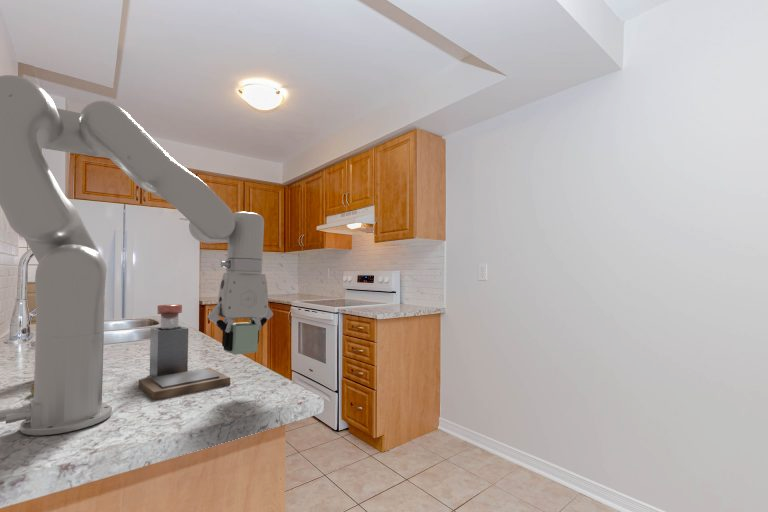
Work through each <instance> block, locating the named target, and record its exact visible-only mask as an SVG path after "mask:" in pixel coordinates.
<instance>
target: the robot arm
mask: <svg viewBox="0 0 768 512" xmlns="http://www.w3.org/2000/svg"><path fill="white" fill-rule="evenodd" d="M41 149H45V150H50V151H59V152H65V153H71V154H78V155H85V156H91V157H97V158H99V157H101V158H108V159H109V160H110V161H112V162H113V164H115V166H117V167H118V168H119V169H120V170H121V171H122V172H123V173H124V174H125V175H126V176H127V177H129V178H130V180H132V182H134V183H135V184H136V185H137V186H138V187H139V188H140V189H142V190H143V191H145V192H148V193H149V194H152V195H155V196H156V197H159V198H161V199H163V200H164V201H166V202H167V203H168V204H170V205H171V206H172V207H174V208H175V209H176V210H177V211H178V212H179V213H180V214H181V215H183V216H184V217H185V218H186V219H187V220H188V221H189V224H188V228H189V233H190V235H191V236H192V237H193V238H194V239H195V240H196V241H198V242H201V243H204V244H221V243H222V244H223V243H227V252H226V253H227V255H226V256H227V257H226V260H221V262H220V268H224V269H225V271H226V272H223V275H222V278H221V281H220V284H219V285H220V286H219V291H218V297H217V304H216V305H215V306H214V308H213V309H212V310H211V311H210V313H208V315H207V319H208V320H210V321H211V322H212V323H214V324H215V325H216V326H217V327H218V329H220V331H222V338H221V339H222V341H221V342H222V343H221V344H222V345H221V346H222V347H223V351H224V350H227V351H232V345H233V332H231V329H232V326H233V323H235V320H236V319H239V320H240V319H249V323H252V324H257V325H258V343H259V342H260V341H259V340H260V339H259V338H260V331H261V330H262V328H263V326H264V325H265V324H266V323H267V322H268V321H269V320H270V319H271V318H272V317H273V316H274V312H273V310H272V309H271V308H270V307H269V296H268V295H269V292H268V283H267V276H266V274H265V273H262V272H263V255H264V253H263V252H264V235H265V233H264V231H265V219H264V217H263V215H261V214H258V213H256V212H251V211H250V212H247V211H235V212H233V211H232V209H231V208H230V207H229V206H228V204H226V203H225V202H224V200H223V199H221V198H220V196H219V195H218V194H217V193H216V192H215V191H214V190H213V189H211V188H210V186H208V185H207V184H206V183H205V182H204V181H203V180H202V179H200V178H199V177H198V176H196V175H195V174H194V173H192V172H191V171H189V170H188V169H187V168H186V167H184V166H183V165H181V164H180V163H179V162H177V161H176V160H175V159H174V158H173V157H172V156H171V155H169V153H168V152H166V150H165V149H163V147H161V146H160V144H159V143H157V142H156V141H155V140H154V139H153V137H152V136H150V134H148V133H147V132H146V131H145V129H144V128H143V127H142V126H141V125H140V124H139V123H137V121H135V119H133V117H132V116H131V115H130V114H129V113H128V112H127V111H125V110H124V109H123V108H122V107H120V106H119V105H117V104H115V103H113V102H110V101H108V100H107V101H106V100H96V101H92V102H90V103H89V104H86V105H85V106H84V107H83V109H82V110H80V112H76V111H72V110H67V109H61V108H57V107H56V105H55V103H54V100H53V98H52V97H51V96H50V95H49V94H48V93H47V92H46V90H45V89H43V88H42V87H41V86H40V85H38V84H37V83H36V82H34V81H32V80H30V79H28V78H25V77H23V76H19V75H11V74H4V75H0V207H1V209H2V211H3V213H4V216H5V217H6V220H7V222H8V224H9V227H10V228H11V229H12V230H13V231H14V233H16V234H17V235H19V236H20V237H22V238H23V239H24V241H25V243H26V244H27V245H28V247H29V249H30V251H31V252H32V254H33V256H34V257H35V259H36V261H37V262H38V263H37V267H36V269H35V277H34V288H35V290H34V291H35V292H34V293H35V309H36V310H35V347H34V348H35V350H34V375H33V376H34V377H33V383H34V384H33V386H34V395H33V397H32V398H30V401H29V403H23V404H22V406H19V407H14V408H5V409H0V423H3V422H4V423H5V424H11V423H16V422H19V421H22V422H21V423H20V425H19V426H20V427H19V431H20V433H22V434H24V435H27V436H50V435H58V434H64V433H70V432H74V431H78V430H82V429H86V428H89V427H92V426H94V425H97V424H99V423H101V422H103V421H105V420H107V419H108V418H110V416H111V415H112V414H113V407H112V406H111V405H109V404H108V403H103V382H104V381H103V378H104V377H103V376H104V373H103V371H104V342H105V341H104V339H105V336H104V335H105V333H104V332H105V331H104V330H105V303H106V301H105V298H106V292H105V291H106V281H107V278H106V277H107V270H108V269H107V265H106V262H105V260H104V258H103V257H102V255H101V253H100V251H99V250H98V248H97V246H96V243H95V242H94V240H93V238H92V236H91V234H90V233H89V230H88V229H87V227H86V225H85V223H84V221H83V220H82V218H81V216H80V214H79V213H78V210H77V208H76V207H75V206H74V205H73V203H72V202H71V201H70V200H69V199H68V197H66V194H64V192H63V190H62V189H61V187H60V185H59V184H58V182H57V180H56V178H55V175H53V173H52V171H51V169H50V166H49V164H48V163H47V160H46V158H45V157H44V154H43V153H42V151H41ZM220 317H221V318H223V320H222V319H221V318H220ZM227 351H226V352H227Z"/></svg>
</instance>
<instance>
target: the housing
mask: <svg viewBox="0 0 768 512" xmlns="http://www.w3.org/2000/svg"><path fill="white" fill-rule="evenodd" d="M231 332H233V345H232V351H227V350H224V349H223V351H225V352H226V353H230V354H232V355H235V356H236V355H244V354H252V353H258V346H259V342H258V325H257V324H252V323H250V322H246V321H245V322H244V321H243V322H234V323H233V326H232V329H231Z"/></svg>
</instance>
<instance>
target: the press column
mask: <svg viewBox="0 0 768 512" xmlns="http://www.w3.org/2000/svg"><path fill="white" fill-rule="evenodd" d="M149 342H150V344H149V345H150V346H149V347H150V348H149V375H150V376H151V377H157V376H163V375H169V374H175V373H181V372H187V371H189V368H188V366H189V365H188V364H189V360H188V359H189V357H188V356H189V328H188V327H185V326H182V325H178V329H172V330H162V331H161V326H159V327H151V328H150V341H149Z"/></svg>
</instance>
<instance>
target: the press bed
mask: <svg viewBox="0 0 768 512" xmlns="http://www.w3.org/2000/svg"><path fill="white" fill-rule="evenodd" d="M228 385H231V377H230V376H228V375H226V374H224V373H222V372H219V371H218V370H215V369H213V368H211V367H207V368H205V367H204V368H200V369H193V370H188V371H187V372H181V373H175V374H169V375H163V376H157V377H152V376H151V377H148V378H147V377H146V378H143V379H142V378H141V379H138V387H139V389H140V390H142V391H143V393H145V394H146V395H147V396H149V397H150V398H151V399H152V400H154V401H155V400H160V399H165V398H170V397H175V396H181V395H185V394H190V393H194V392H199V391H204V390H208V389H213V388H219V387H223V386H228Z"/></svg>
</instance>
